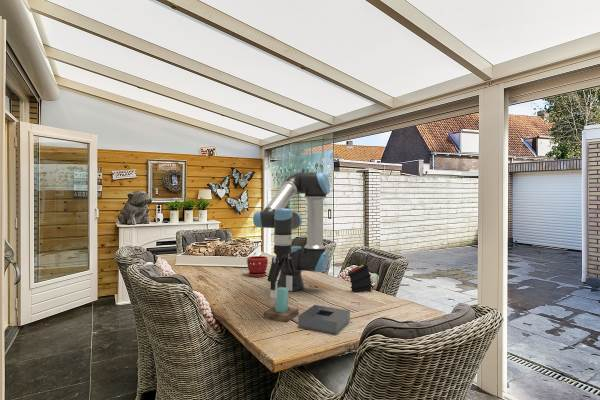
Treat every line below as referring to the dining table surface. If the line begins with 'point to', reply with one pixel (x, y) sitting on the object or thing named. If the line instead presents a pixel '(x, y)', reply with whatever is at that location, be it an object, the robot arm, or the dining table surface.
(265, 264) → the plant pot
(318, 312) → the port
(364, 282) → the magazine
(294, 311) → the brown flat piece
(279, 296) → the peg
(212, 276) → the dining table surface
